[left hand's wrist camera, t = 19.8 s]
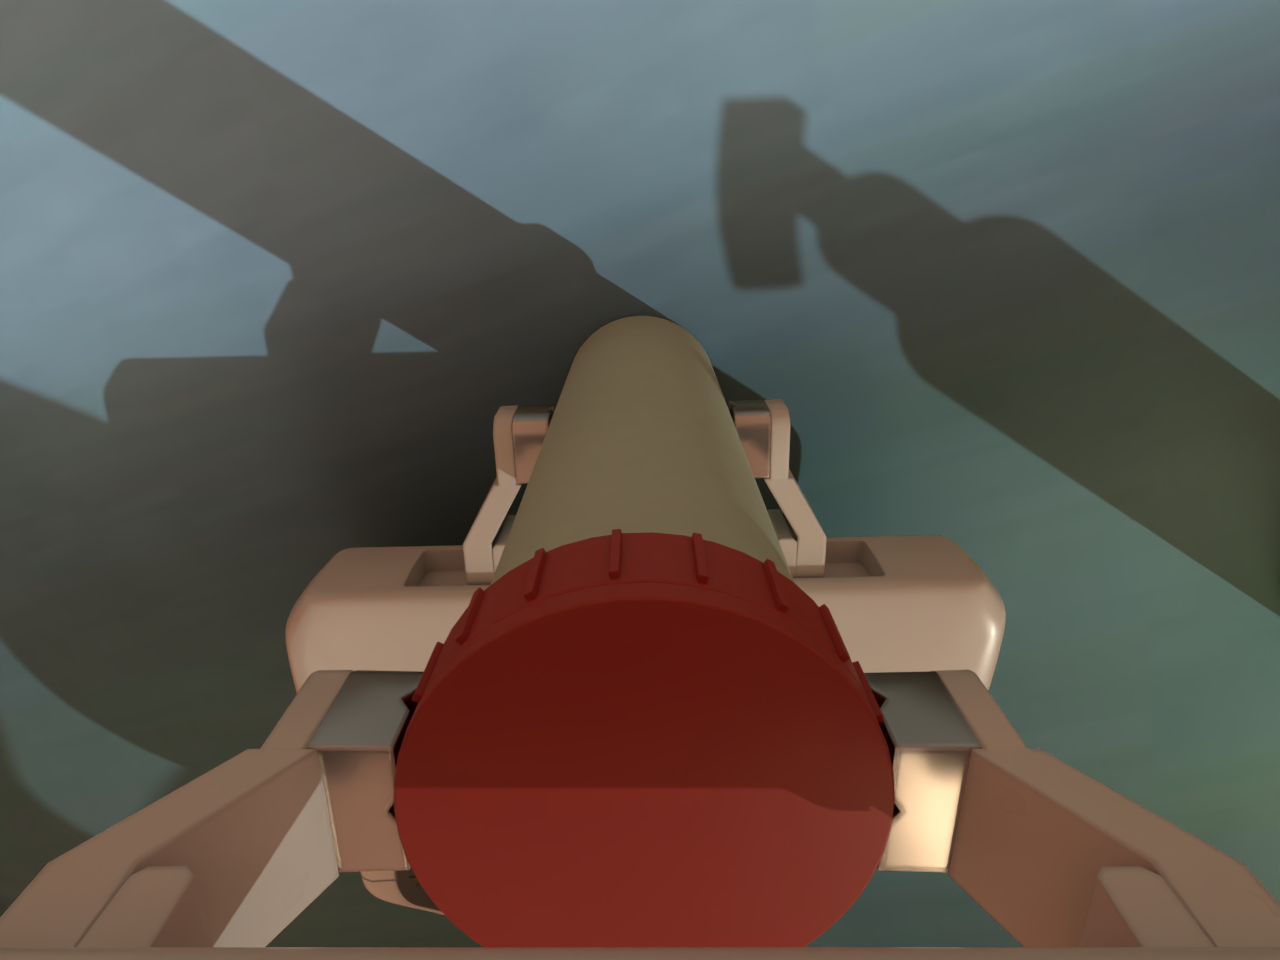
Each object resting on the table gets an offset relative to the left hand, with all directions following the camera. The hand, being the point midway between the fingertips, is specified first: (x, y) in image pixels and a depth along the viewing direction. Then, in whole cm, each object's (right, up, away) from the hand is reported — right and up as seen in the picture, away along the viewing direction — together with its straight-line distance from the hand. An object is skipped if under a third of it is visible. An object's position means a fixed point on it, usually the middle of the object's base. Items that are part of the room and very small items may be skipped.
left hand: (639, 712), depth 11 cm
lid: (0, -1, -1) cm, 2 cm away
